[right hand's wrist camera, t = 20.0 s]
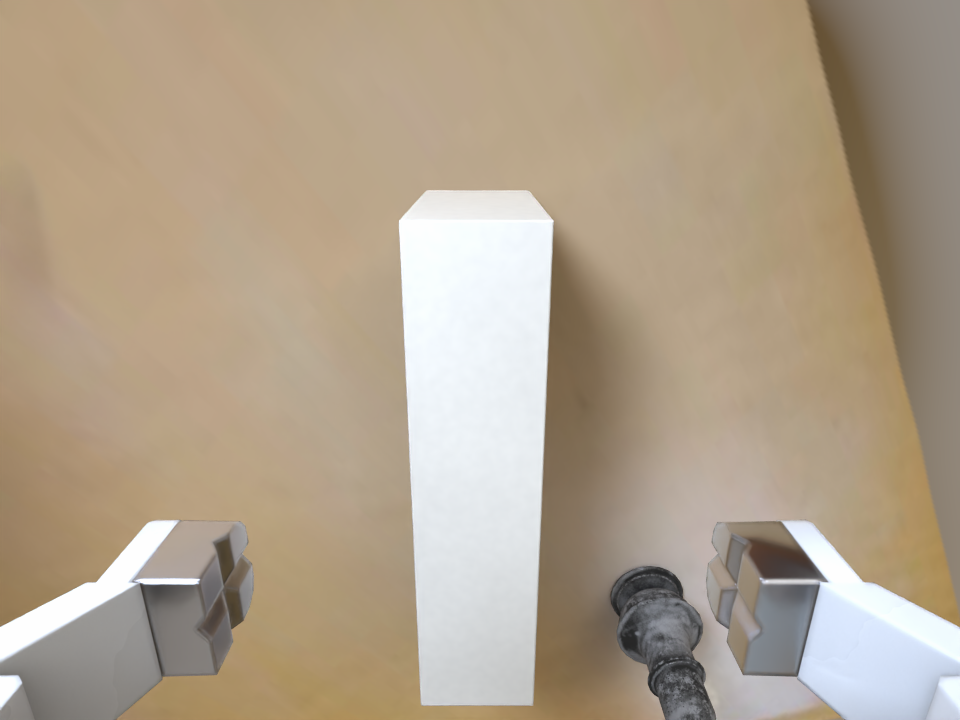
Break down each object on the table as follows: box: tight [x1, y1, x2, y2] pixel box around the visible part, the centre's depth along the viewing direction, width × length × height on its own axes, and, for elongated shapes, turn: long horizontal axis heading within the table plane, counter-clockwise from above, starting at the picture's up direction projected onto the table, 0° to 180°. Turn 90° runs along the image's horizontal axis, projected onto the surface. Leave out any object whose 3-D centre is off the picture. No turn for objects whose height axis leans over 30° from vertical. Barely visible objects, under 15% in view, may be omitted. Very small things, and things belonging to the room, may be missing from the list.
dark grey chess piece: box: [611, 566, 716, 720], centre depth 40 cm, size 6×6×12 cm
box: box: [399, 190, 554, 706], centre depth 34 cm, size 25×6×12 cm, turn 0°
